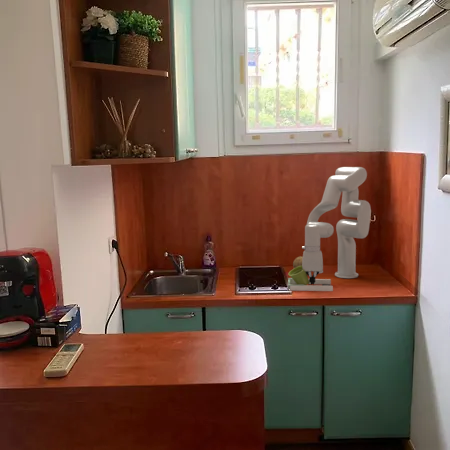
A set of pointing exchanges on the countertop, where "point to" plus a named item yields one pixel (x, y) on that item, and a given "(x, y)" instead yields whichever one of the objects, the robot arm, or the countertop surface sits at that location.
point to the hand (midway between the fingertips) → (312, 283)
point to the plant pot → (299, 275)
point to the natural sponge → (297, 262)
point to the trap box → (302, 287)
